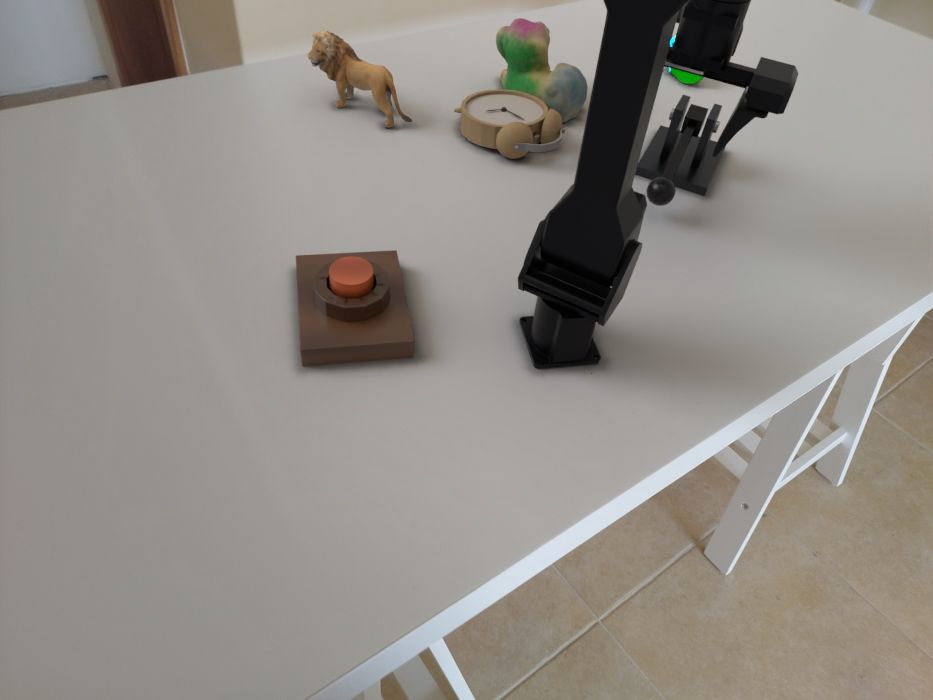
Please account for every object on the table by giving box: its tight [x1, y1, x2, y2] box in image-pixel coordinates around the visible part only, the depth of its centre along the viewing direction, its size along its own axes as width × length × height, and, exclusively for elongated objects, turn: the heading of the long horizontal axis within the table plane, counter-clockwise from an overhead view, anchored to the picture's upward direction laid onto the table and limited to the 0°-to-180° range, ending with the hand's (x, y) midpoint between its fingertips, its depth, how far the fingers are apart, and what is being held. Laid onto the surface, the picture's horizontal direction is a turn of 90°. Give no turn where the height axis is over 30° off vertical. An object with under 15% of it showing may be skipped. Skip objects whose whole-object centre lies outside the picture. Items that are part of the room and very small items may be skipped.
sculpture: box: [495, 17, 588, 123], centre depth 100 cm, size 15×8×10 cm, turn 46°
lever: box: [645, 103, 709, 207], centre depth 87 cm, size 17×3×3 cm, turn 155°
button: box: [329, 256, 374, 299], centre depth 67 cm, size 4×4×2 cm
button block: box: [295, 249, 415, 367], centre depth 69 cm, size 13×10×4 cm
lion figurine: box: [306, 30, 413, 129], centre depth 94 cm, size 15×5×9 cm, turn 66°
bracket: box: [635, 94, 727, 197], centre depth 92 cm, size 12×9×8 cm
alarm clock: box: [453, 88, 566, 160], centre depth 94 cm, size 11×5×15 cm
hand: (672, 142), depth 79 cm, fingers open, 9 cm apart
